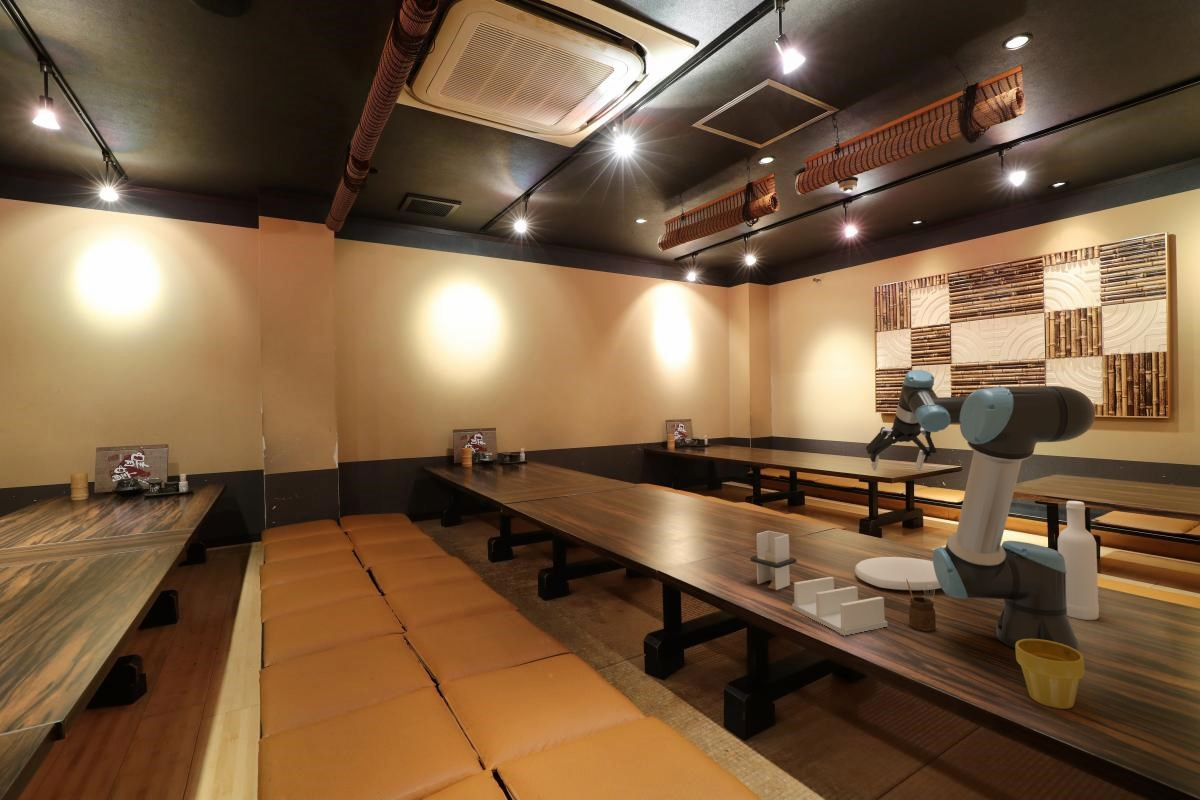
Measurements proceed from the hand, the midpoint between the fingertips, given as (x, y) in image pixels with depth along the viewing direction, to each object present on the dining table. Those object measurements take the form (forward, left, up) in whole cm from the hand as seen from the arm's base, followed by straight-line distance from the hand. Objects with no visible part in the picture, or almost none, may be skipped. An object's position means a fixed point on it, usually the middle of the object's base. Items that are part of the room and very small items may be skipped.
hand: (895, 467), depth 179 cm
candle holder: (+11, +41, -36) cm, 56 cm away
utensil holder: (-31, +27, -36) cm, 55 cm away
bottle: (-41, -17, -36) cm, 57 cm away
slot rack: (-18, +42, -36) cm, 58 cm away
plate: (-3, +2, -36) cm, 37 cm away
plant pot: (-65, +34, -36) cm, 82 cm away
